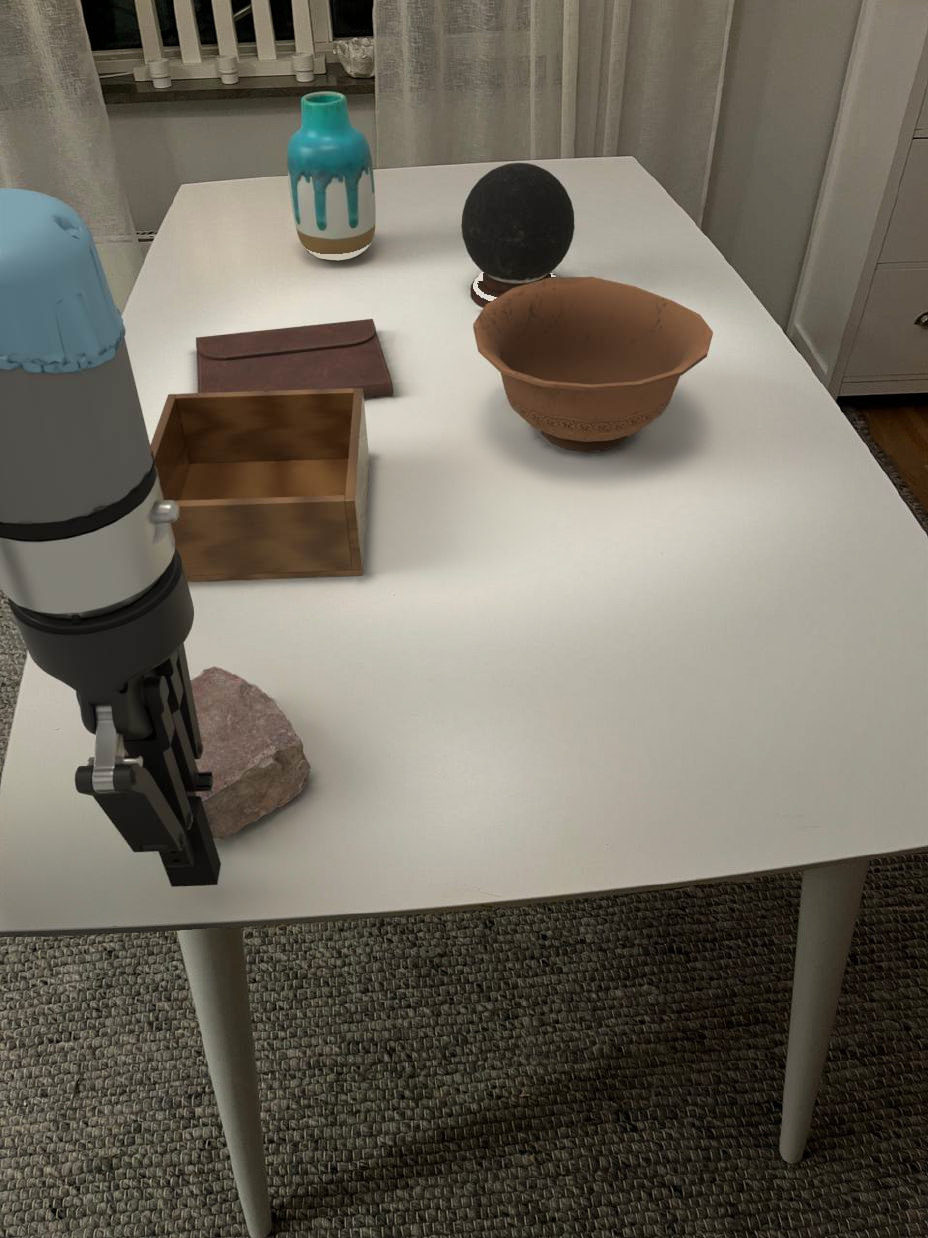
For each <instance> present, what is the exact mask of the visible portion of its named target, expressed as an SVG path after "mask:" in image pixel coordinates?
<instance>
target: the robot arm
mask: <svg viewBox="0 0 928 1238" xmlns="http://www.w3.org/2000/svg"><path fill="white" fill-rule="evenodd" d="M126 332H127V330H126V327H125V324H124V319H123V317H122V313H121V311H120V309H119V307H118V306H117V305H116V304H115V301H114V298H113V295H112V292H111V289H110V285H109V283H108V280H107V277H106V274H105V270H104V267H103V264H102V262H101V259H100V255H99V252H98V249H97V246H96V243H95V240H94V237H93V234H92V232H91V230H90V228H89V226H88V224H87V223H86V222H85V220H84V219H83V218H82V216H81V215H80V214H79V213H78V212H77V211H76V210H75V209H74V208H73V207H71V206H70V205H69V204H67V203H65V202H64V201H62V200H60V199H59V198H56V197H54V196H51V195H48V194H46V193H43V192H39V191H35V190H29V189H23V188H22V189H21V188H9V187H0V589H1V592H2V594H3V595H4V596H5V597H7V602H8V606H9V609H10V611H11V613H12V616H13V618H14V620H15V623H16V625H17V628H18V631H19V632H20V635H21V637H22V639H23V641H24V645H25V647H26V649H27V651H28V654H29V656H30V658H31V660H32V661H33V662H34V663H35V665H36V666H37V667H38V668H39V669H40V670H41V671H43V672H44V673H46V675H49V676H51V677H52V678H54V679H56V680H58V681H60V682H61V683H63V684H65V685H66V686H68V687H70V688H71V689H73V690H74V691H75V697H76V700H77V703H78V706H79V711H80V717H81V721H82V724H83V726H84V728H85V729H86V730H87V731H88V732H89V733H90V734H92V735H95V738H94V739H95V741H94V756H89V758H88V759H87V761H86V765H79V766H78V767H77V769H76V770H75V774H74V784H75V789H76V791H77V792H78V793H79V794H81V795H82V794H83V795H86V796H90V797H91V796H92V798H93V799H94V800H95V802H96V803H97V804H98V806H99V807H100V808H101V810H102V812H104V814H105V815H106V816H107V818H108V819H109V820H110V822H111V823H112V825H113V826H114V827H115V829H117V831H118V833H119V834H120V836H121V837H122V838H123V840H124V841H125V842H126V843H127V845H128V846H129V848H130V849H131V850H132V852H133V853H155V852H156V853H157V852H158V854H159V857H160V859H161V862H162V866H163V868H164V870H165V873H166V875H167V878H168V881H169V884H170V887H172V888H175V887H180V888H181V887H203V886H204V887H205V886H206V887H207V886H218V884H219V877H220V873H221V867H222V863H221V859H220V856H219V853H218V849H217V845H216V843H215V840H214V839H215V838H214V837H213V836H212V833H211V829H210V826H209V823H208V820H207V816H206V813H205V810H204V806H203V803H202V800H201V797H200V796H196V792H199V791H211V790H212V786H213V775H212V772H198V769H197V765H196V762H195V759H200V758H201V755H202V754H203V744H202V742H201V736H200V731H199V725H198V719H197V714H196V708H195V703H194V697H193V692H192V686H191V680H192V679H191V676H190V675H191V674H190V670H189V665H188V664H189V663H188V659H187V653H186V647H185V642H186V640H187V638H188V636H189V635H190V633H191V630H192V629H193V624H194V618H195V606H194V603H193V599H192V594H191V591H190V587H189V582H187V579H186V575H185V571H184V567H183V564H182V560H181V556H180V554H179V552H178V550H177V549H176V548H175V538H174V534H173V530H172V526H171V523H172V522H176V520H177V519H178V518H179V516H180V514H179V507H178V505H177V503H176V502H175V501H174V500H164V498H163V494H162V490H161V486H160V480H159V476H158V472H157V469H156V466H155V459H154V455H153V451H152V450H151V446H150V445H151V442H150V439H149V434H148V429H147V426H146V422H145V418H144V414H143V409H142V405H141V400H140V396H139V392H138V388H137V384H136V379H135V375H134V371H133V366H132V363H131V358H130V355H129V354H130V353H129V351H128V345H127V342H126V338H125V335H126V334H127V333H126Z"/></svg>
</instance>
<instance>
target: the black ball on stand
mask: <svg viewBox="0 0 928 1238" xmlns="http://www.w3.org/2000/svg"><path fill="white" fill-rule="evenodd" d="M460 224H461V225H460V227H461V228H460V229H461V235H462V239H463V243H464V246H465V249H466V252H467V254H468V255H469V257H470V259H471V261H472V262H473V263H474V264H475V265H476V266H477V267H478V268H479V270H480V272H482V271H483V272H484V273H483V281H478V282H479V283H477V284H478V288H479V289H480V290H481V291H482V292H484V294H487V295H491V296H494V297H499V296H501V295H502V294H504V293H506V292H507V291H509V290H510V289H512V288H514V287H518V286H522V285H525V284H529V283H532V282H536V281H539V280H543V279H547V278H550V277H551V274H550V273H551V272H552V273H553V271H554V270H555V269H556V268H557V267H559V265H560V264H561V263H562V262H563V260H564V259H565V257H566V255H567V254H568V252H569V250H570V247H571V245H572V241H573V239H574V233H575V228H576V227H575V226H576V225H575V210H574V207H573V202H572V199H571V197H570V196H569V193H568V191H567V190H566V188H565V186H564V185H563V184H562V182H561V181H560V180H559V179H558V178H557V176H554V174H553V173H551V172H550V171H548V170H547V169H545V168H542V167H541V166H538V165H536V164H533V163H529V162H528V163H527V162H511V163H507V164H503V165H500V166H497V167H496V168H493V169H491V170H490V171H488V172H487V173H486V174H484V175H483V176H482V177H481V178H479V180H478V181H477V182H476V183H475V185H474V186H473V187H472V189H471V190H470V191H469V194H468V196H467V197H466V199H465V203H464V205H463V209H462V213H461V223H460ZM474 281H475V279H474V280H473V281H472V282H471V284H470V290H469V291H470V297H471V298H470V299H471V300H472V301H473V303H475V305H477V306H478V307H480V308H482V309H483V308H484V307H485V305H486V304H488V303H489V302H491V301H488V300H486V299H484V298H481V297H480V296H479V295H477V294H476V292H475V291H474V289H473V283H474Z"/></svg>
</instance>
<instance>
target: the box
mask: <svg viewBox="0 0 928 1238" xmlns="http://www.w3.org/2000/svg"><path fill="white" fill-rule="evenodd" d="M367 429H368V428H367V419H366V407H365V399H364V395H363V388H344V389H313V390H281V391H249V392H217V393H198V392H190V393H189V392H187V393H169V394H167V397H166V399H165V402H164V405H163V408H162V411H161V414H160V416H159V420H158V421H157V425H156V428H155V431H154V434H153V436H152V439H151V442H150V446H151V450H152V451H153V455H154V459H155V466H156V469H157V472H158V476H159V480H160V486H161V490H162V494H163V498H164V500H174V501H175V502H176V503H177V505H178V507H179V514H180V516H179V518H178V519H177V520H176V522H172V523H171V526H172V530H173V534H174V538H175V548H176V549H177V550H178V552H179V554H180V556H181V560H182V564H183V567H184V571H185V575H186V579H187V583H189V582H190V583H191V582H212V581H213V582H214V581H218V582H219V581H243V580H244V581H246V580H270V579H271V580H272V579H273V580H276V579H298V578H299V579H300V578H301V579H303V578H329V577H357V576H358V577H359V576H360V577H361V576H363V575H364V560H365V544H366V543H365V541H366V537H365V536H366V526H367V525H366V523H367V506H368V490H369V489H368V487H369V472H370V471H369V469H370V452H369V444H368V443H369V441H368V440H369V439H368V431H367Z"/></svg>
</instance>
